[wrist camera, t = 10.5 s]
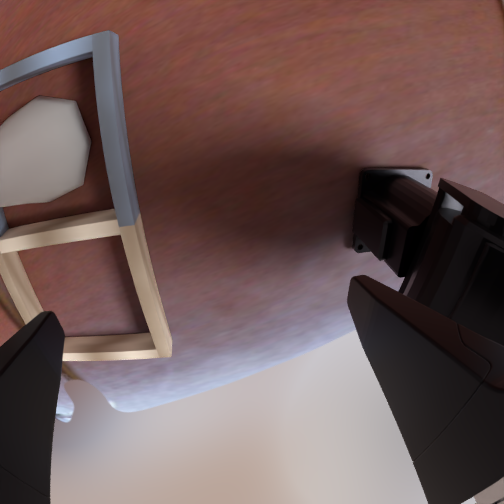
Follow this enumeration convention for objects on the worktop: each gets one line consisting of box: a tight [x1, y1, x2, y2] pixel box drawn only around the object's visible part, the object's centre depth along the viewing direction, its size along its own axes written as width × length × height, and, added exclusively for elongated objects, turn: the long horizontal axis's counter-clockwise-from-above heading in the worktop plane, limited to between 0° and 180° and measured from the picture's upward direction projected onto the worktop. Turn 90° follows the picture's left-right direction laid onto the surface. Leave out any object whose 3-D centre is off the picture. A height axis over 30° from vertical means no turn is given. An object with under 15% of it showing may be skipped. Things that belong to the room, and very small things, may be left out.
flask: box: [0, 95, 92, 207], centre depth 11 cm, size 7×7×10 cm
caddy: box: [0, 30, 172, 361], centre depth 17 cm, size 12×23×2 cm, turn 2°
